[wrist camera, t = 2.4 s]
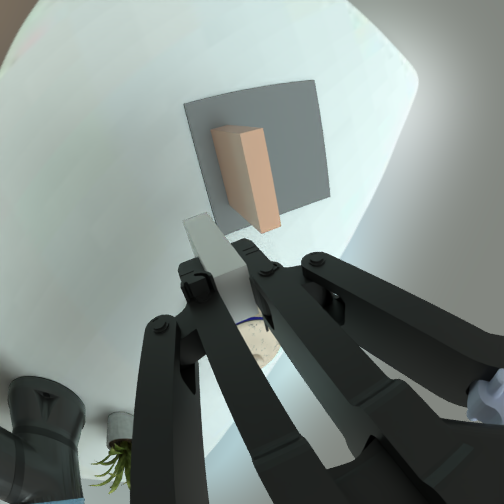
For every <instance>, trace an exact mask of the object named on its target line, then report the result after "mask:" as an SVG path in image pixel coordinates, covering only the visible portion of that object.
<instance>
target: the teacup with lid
mask: <svg viewBox="0 0 504 504" xmlns="http://www.w3.org/2000/svg"><path fill="white" fill-rule="evenodd" d="M257 307H258V306H257ZM258 311H259V314H257V315H255V316H252V317H250V318H248V319H245V320H243V321H241V322H238V323H236V326H237V327H238V329H239V331H240V333H241V335H242V336H243V338H244V340H245V342H246V344H247V345H248V347H249V349H250V351H251V353H252V354H253V356H254V358H255V360H256V361H257V363H258V365H259V367H260V368H263V367H264V366H265V365H267V364H268V363H269V362H270V361H271V360H272V359H273V358H274V357H275V356H276V354H277V353H278V351H279V349H280V344H279V343H278V341H277V340H276V338H275V337H274V335H273V334H272V332H271V331H270V329H269V328H268V329H269V331H268V332H267V331H266V328H265V324H264V320H263V316H262V312H261V310H260V309H259V307H258Z"/></svg>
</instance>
